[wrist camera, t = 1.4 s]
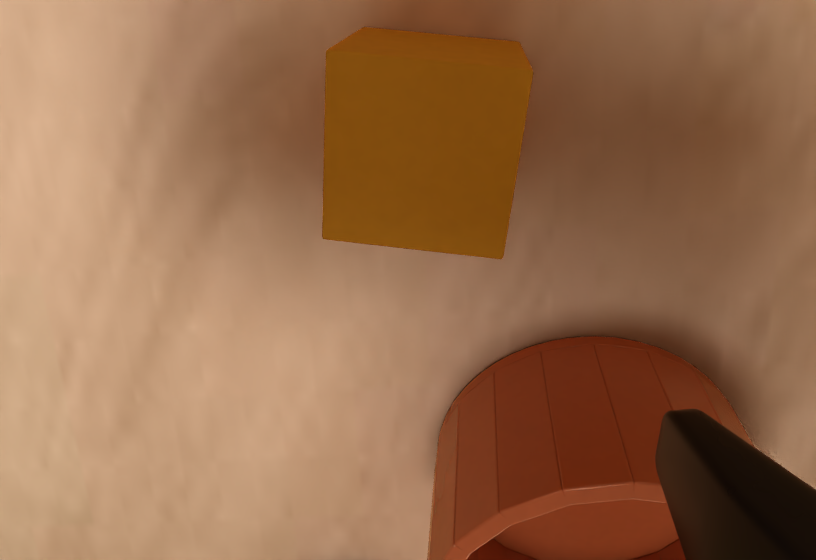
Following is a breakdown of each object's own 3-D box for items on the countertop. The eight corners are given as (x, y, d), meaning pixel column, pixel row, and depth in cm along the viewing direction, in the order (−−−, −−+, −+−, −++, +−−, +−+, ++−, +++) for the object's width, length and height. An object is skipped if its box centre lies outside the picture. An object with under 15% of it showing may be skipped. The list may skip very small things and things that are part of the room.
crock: (783, 356, 22) (906, 517, 16) (690, 579, 27) (755, 767, 21) (454, 317, 22) (444, 457, 16) (424, 542, 27) (408, 715, 21)
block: (520, 41, 18) (534, 69, 14) (497, 193, 20) (502, 260, 16) (362, 26, 18) (325, 49, 14) (355, 177, 20) (321, 240, 16)
